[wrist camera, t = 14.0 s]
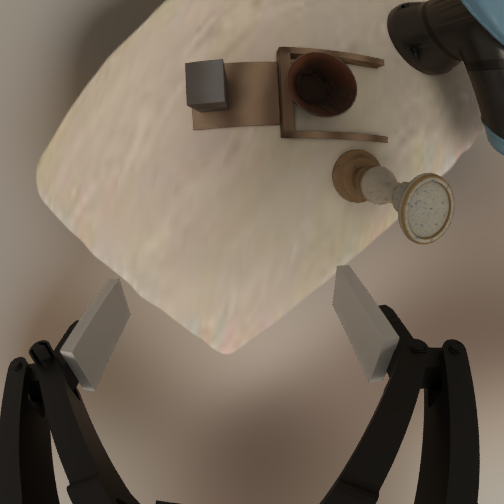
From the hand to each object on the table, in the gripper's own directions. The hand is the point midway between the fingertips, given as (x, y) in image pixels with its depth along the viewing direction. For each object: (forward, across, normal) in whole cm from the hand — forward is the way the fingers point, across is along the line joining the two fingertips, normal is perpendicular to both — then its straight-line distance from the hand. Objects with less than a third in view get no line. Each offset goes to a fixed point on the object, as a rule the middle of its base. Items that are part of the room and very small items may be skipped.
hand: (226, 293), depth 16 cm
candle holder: (+29, +20, +2) cm, 35 cm away
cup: (+29, +12, +15) cm, 35 cm away
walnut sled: (+29, +9, +15) cm, 34 cm away
